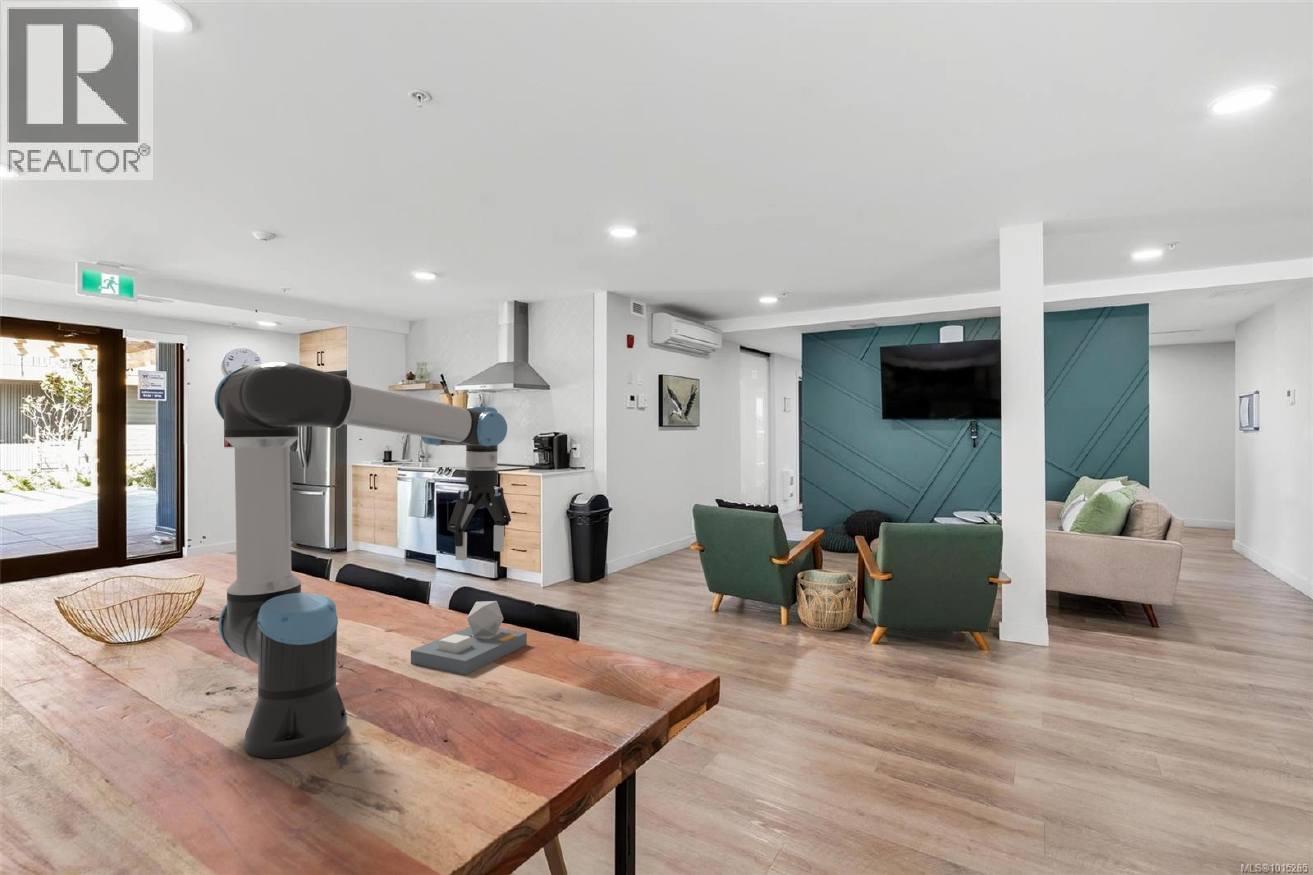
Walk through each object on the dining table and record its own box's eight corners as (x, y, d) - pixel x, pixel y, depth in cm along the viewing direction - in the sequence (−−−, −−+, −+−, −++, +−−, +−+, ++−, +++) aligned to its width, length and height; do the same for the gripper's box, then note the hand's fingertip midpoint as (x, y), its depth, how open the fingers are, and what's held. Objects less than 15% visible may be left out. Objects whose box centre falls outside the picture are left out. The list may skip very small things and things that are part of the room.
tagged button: (487, 651, 149) (488, 638, 149) (471, 648, 151) (471, 635, 151) (501, 645, 153) (501, 632, 153) (485, 642, 156) (485, 629, 156)
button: (455, 657, 139) (455, 643, 139) (438, 654, 141) (438, 640, 141) (470, 650, 143) (471, 636, 143) (454, 647, 146) (454, 633, 146)
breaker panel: (465, 674, 134) (465, 660, 134) (410, 663, 141) (410, 649, 141) (526, 644, 154) (526, 631, 154) (476, 635, 161) (476, 623, 161)
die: (486, 644, 146) (509, 608, 150) (456, 625, 147) (480, 590, 151) (490, 646, 154) (513, 611, 157) (462, 628, 155) (484, 594, 158)
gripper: (457, 471, 139) (455, 565, 139) (525, 468, 162) (524, 548, 162) (432, 470, 142) (431, 562, 142) (502, 467, 165) (501, 546, 165)
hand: (480, 555), depth 152 cm, fingers open, 13 cm apart
